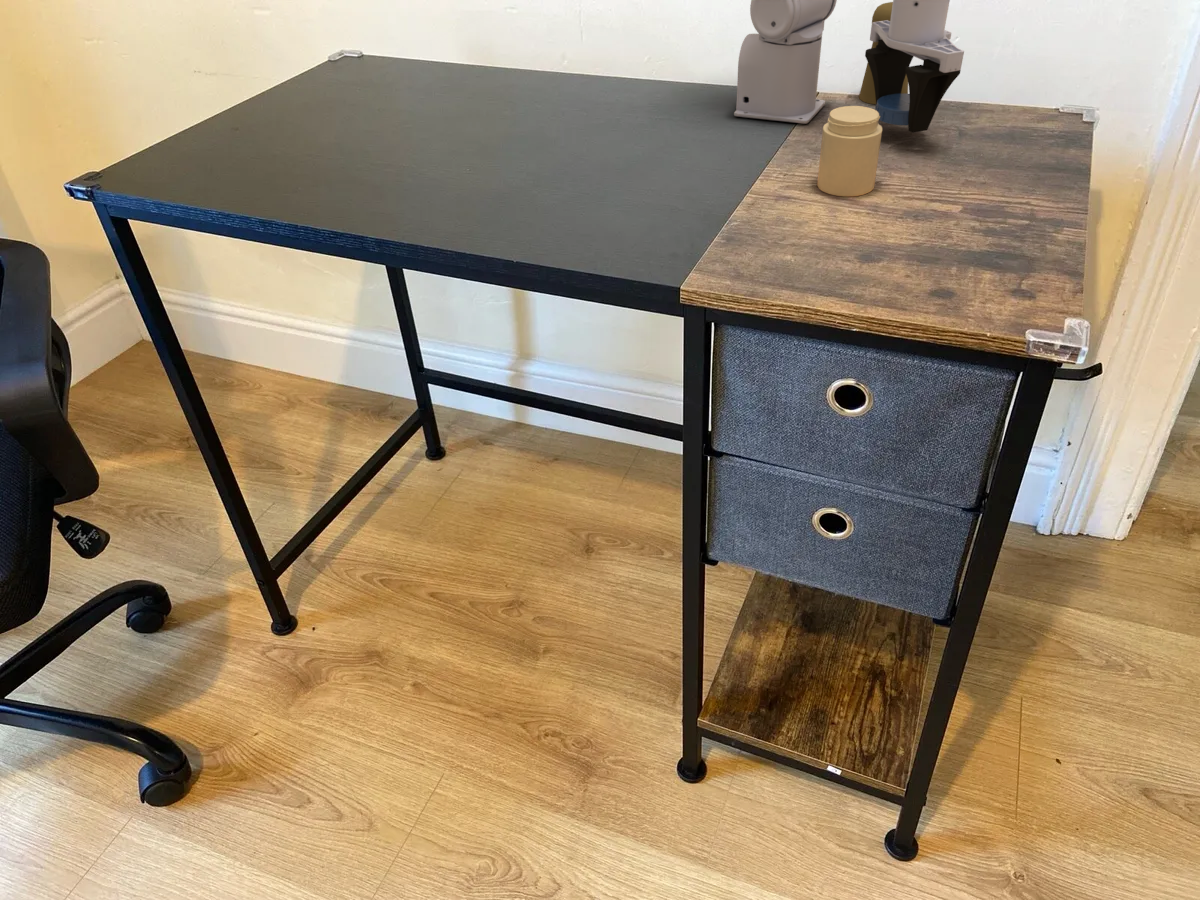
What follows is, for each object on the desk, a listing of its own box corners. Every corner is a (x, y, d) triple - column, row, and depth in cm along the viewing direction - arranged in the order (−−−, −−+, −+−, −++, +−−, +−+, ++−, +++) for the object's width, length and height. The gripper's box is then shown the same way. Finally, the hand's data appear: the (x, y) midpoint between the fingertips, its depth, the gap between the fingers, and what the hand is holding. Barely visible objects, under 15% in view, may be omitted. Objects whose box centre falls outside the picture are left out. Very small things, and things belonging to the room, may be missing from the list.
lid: (942, 120, 99) (945, 105, 98) (894, 128, 97) (896, 114, 96) (911, 104, 103) (913, 90, 102) (864, 112, 102) (866, 98, 101)
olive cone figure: (909, 105, 110) (924, 9, 103) (859, 104, 111) (871, 10, 104) (906, 89, 114) (920, -3, 107) (858, 89, 115) (869, -3, 108)
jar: (811, 192, 91) (818, 120, 86) (824, 172, 95) (831, 102, 90) (867, 199, 89) (878, 126, 84) (879, 178, 93) (889, 106, 88)
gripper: (999, -1, 87) (971, 135, 96) (916, -26, 98) (897, 98, 107) (938, 9, 86) (914, 146, 95) (860, -19, 97) (845, 107, 106)
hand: (902, 121), depth 101 cm, fingers closed on lid, 6 cm apart
